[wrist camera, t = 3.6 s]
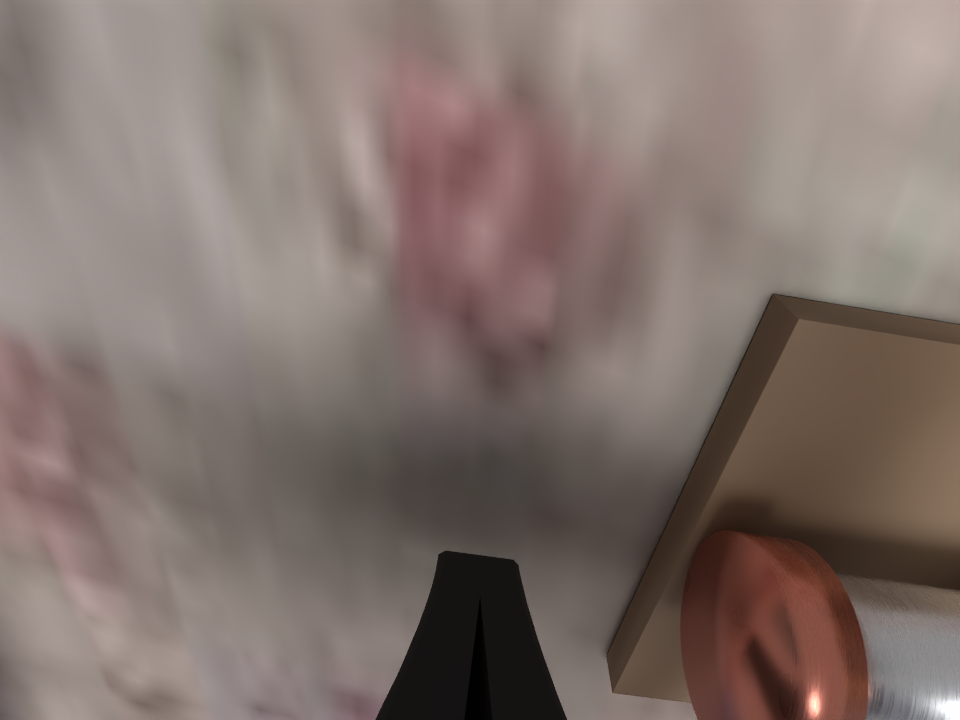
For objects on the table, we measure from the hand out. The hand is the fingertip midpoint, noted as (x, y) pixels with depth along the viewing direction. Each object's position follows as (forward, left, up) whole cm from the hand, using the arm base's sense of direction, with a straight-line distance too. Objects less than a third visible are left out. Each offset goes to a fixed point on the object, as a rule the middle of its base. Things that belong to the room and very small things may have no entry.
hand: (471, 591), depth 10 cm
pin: (+9, -3, -2) cm, 10 cm away
